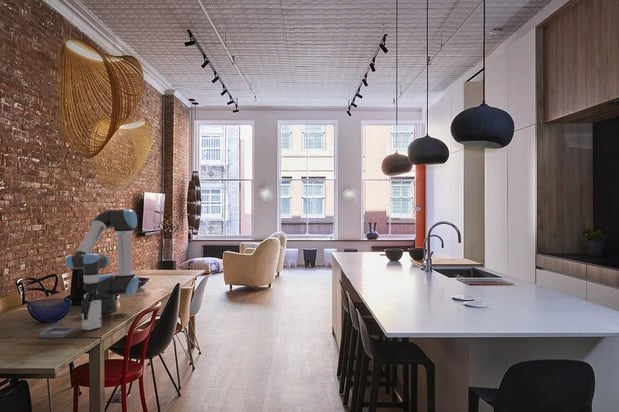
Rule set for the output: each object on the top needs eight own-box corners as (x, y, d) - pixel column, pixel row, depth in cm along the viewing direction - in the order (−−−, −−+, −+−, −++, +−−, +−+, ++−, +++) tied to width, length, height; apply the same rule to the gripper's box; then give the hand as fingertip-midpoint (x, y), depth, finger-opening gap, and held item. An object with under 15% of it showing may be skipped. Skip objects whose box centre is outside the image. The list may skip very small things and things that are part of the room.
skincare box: (88, 330, 254) (88, 302, 254) (81, 329, 257) (80, 301, 257) (102, 326, 261) (101, 299, 261) (95, 325, 264) (94, 298, 264)
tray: (53, 331, 255) (53, 327, 255) (76, 331, 254) (76, 327, 254) (39, 337, 242) (39, 333, 242) (63, 337, 242) (63, 333, 242)
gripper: (94, 278, 270) (95, 317, 270) (73, 285, 248) (73, 328, 248) (107, 278, 269) (108, 317, 270) (87, 286, 247) (87, 328, 247)
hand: (91, 323), depth 259 cm, fingers closed on skincare box, 10 cm apart
